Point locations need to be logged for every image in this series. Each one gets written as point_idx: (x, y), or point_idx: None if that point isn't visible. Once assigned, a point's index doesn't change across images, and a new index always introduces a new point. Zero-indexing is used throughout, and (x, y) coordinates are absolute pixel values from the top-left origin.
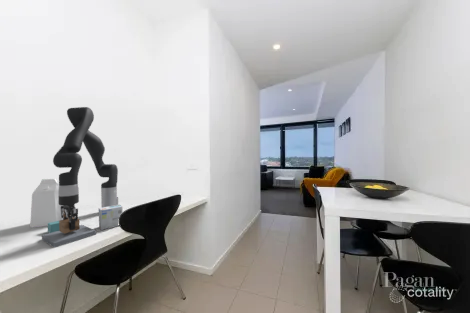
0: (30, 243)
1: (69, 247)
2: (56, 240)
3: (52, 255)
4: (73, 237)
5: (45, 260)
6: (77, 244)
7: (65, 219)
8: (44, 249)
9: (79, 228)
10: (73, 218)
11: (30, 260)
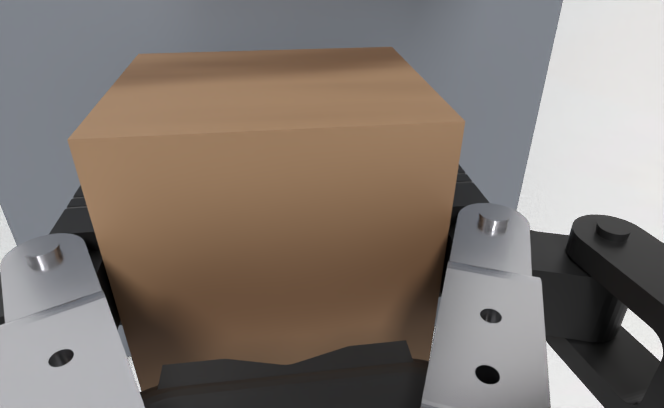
0: (139, 388)
1: (617, 207)
2: (439, 297)
3: (628, 316)
4: (523, 161)
5: (658, 351)
6: (630, 138)
7: (151, 324)
8: (433, 335)
9: (394, 50)
10: (223, 194)
11: (553, 400)
